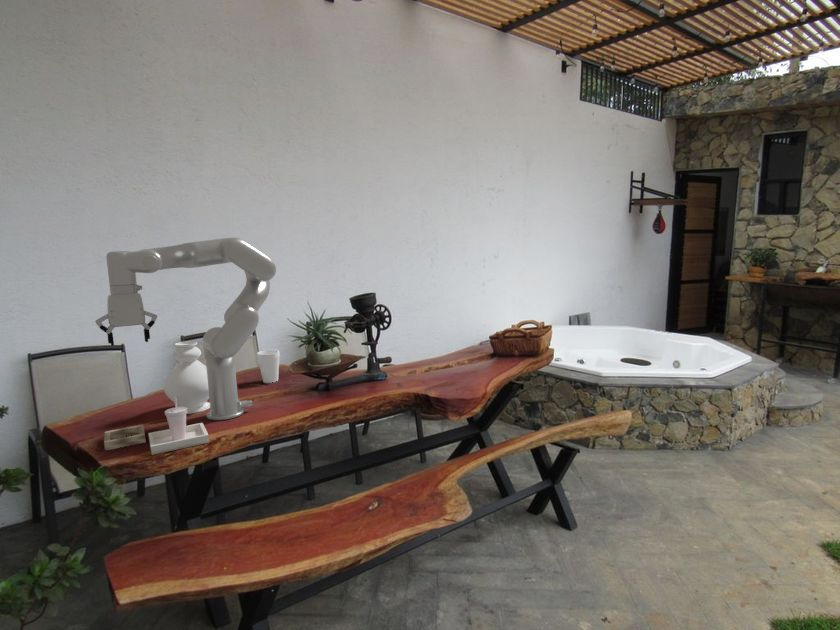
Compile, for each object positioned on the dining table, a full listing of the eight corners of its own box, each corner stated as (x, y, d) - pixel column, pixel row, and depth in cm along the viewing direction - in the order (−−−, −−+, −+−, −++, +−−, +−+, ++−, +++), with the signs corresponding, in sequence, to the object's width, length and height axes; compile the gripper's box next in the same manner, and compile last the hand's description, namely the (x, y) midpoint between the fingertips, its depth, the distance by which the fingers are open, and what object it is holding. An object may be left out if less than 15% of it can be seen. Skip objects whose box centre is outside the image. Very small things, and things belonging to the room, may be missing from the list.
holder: (144, 431, 174) (143, 424, 173) (145, 442, 164) (144, 434, 164) (105, 439, 168) (104, 431, 168) (105, 450, 159) (104, 442, 159)
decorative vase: (161, 408, 197) (153, 343, 194) (209, 397, 209) (203, 336, 205) (174, 420, 184) (166, 350, 180) (225, 408, 195) (219, 342, 191)
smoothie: (193, 435, 167) (189, 392, 165) (185, 443, 161) (180, 399, 159) (173, 436, 167) (168, 393, 165) (164, 444, 161) (159, 400, 159)
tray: (203, 429, 174) (202, 422, 173) (209, 442, 162) (208, 434, 162) (149, 440, 166) (148, 433, 165) (151, 454, 155) (150, 446, 154)
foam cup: (277, 376, 237) (275, 348, 235) (284, 381, 229) (282, 352, 227) (256, 380, 231) (254, 352, 229) (263, 385, 224) (261, 355, 222)
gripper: (153, 287, 173) (158, 338, 176) (91, 291, 164) (98, 345, 167) (155, 289, 167) (160, 341, 170) (91, 293, 158) (98, 349, 161)
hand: (129, 343), depth 168 cm, fingers open, 9 cm apart
